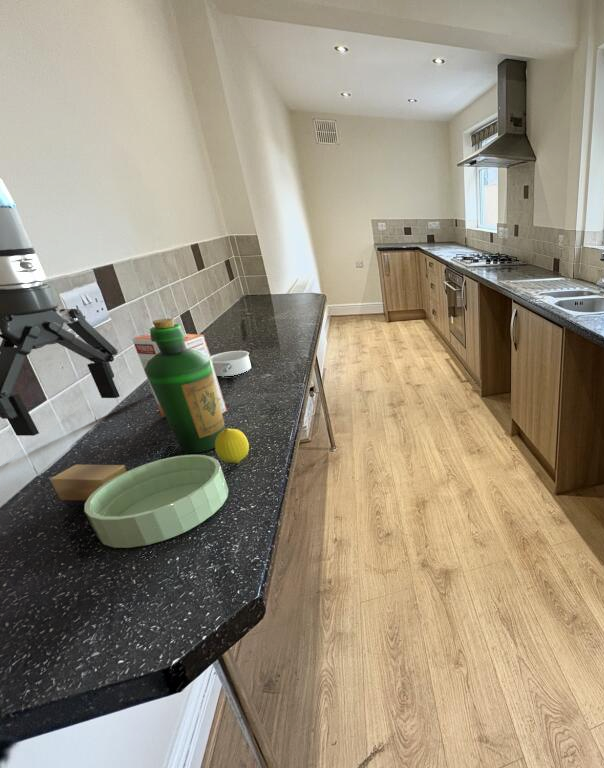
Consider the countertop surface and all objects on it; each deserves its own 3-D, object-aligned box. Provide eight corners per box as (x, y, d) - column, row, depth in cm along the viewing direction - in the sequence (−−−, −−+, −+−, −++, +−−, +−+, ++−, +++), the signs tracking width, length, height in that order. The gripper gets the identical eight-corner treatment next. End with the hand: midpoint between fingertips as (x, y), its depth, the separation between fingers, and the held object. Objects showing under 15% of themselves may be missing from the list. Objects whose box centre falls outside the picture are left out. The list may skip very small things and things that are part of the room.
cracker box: (160, 418, 102) (129, 337, 94) (181, 407, 108) (154, 330, 100) (209, 422, 100) (181, 340, 92) (228, 411, 106) (204, 333, 97)
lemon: (248, 452, 87) (239, 419, 84) (256, 463, 84) (246, 428, 81) (218, 462, 84) (207, 428, 81) (224, 474, 80) (213, 438, 77)
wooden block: (64, 507, 71) (49, 479, 69) (88, 491, 75) (75, 464, 73) (114, 508, 71) (100, 479, 69) (136, 492, 75) (124, 464, 73)
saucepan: (206, 391, 117) (200, 373, 115) (213, 370, 134) (208, 354, 131) (252, 384, 123) (247, 366, 120) (253, 364, 139) (249, 348, 137)
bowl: (67, 549, 62) (50, 518, 60) (161, 480, 78) (150, 453, 76) (178, 552, 62) (165, 520, 59) (250, 482, 78) (242, 455, 75)
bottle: (234, 447, 89) (195, 322, 78) (173, 463, 84) (122, 330, 73) (232, 428, 97) (197, 312, 87) (176, 441, 92) (131, 318, 81)
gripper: (-78, 302, 49) (8, 454, 57) (114, 273, 72) (156, 385, 80) (-139, 303, 49) (-44, 454, 57) (73, 274, 72) (119, 385, 80)
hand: (73, 414), depth 68 cm, fingers open, 13 cm apart
